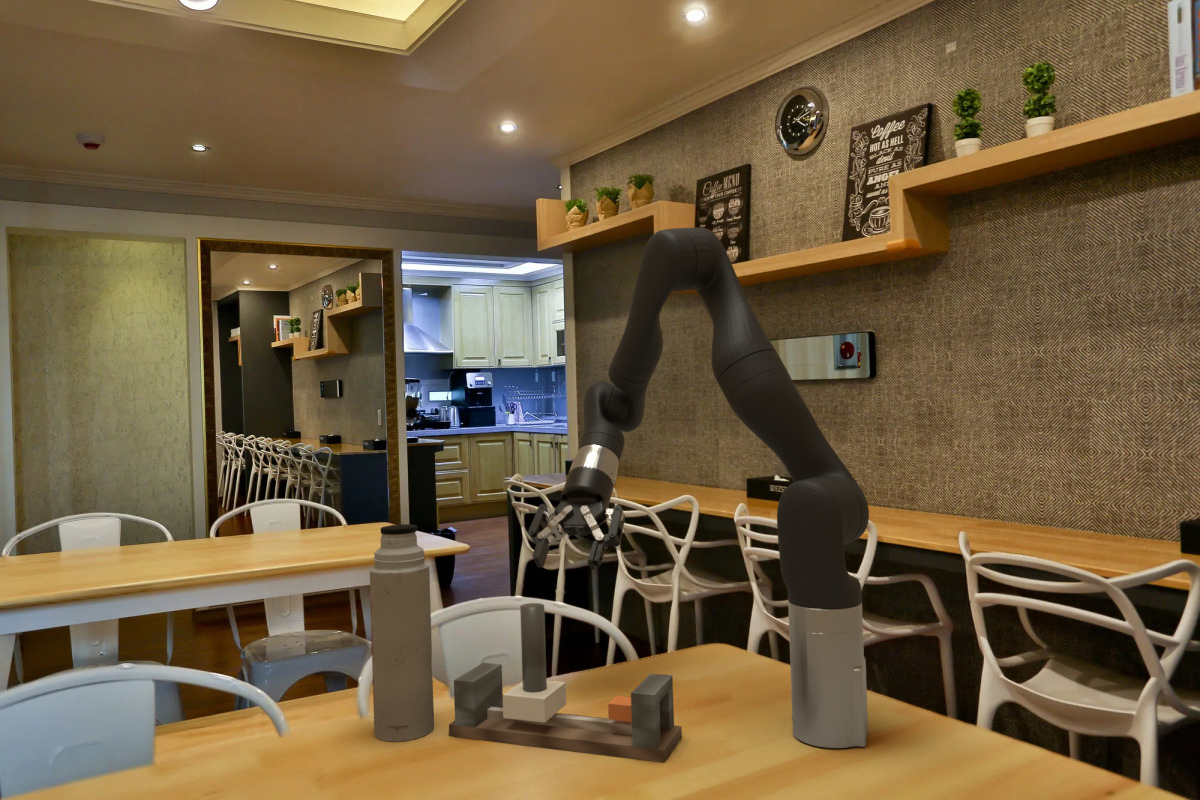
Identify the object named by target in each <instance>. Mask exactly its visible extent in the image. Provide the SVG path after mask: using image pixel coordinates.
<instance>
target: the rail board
mask: <svg viewBox="0 0 1200 800" xmlns="http://www.w3.org/2000/svg"><path fill="white" fill-rule="evenodd" d="M502 666H503V665H502V663H501V664H500V663H491V662H490V663H489V662H482V663H481V664H478V665H477V666H475V667H474V668H472V669H470V670H468V671H467V672H465V673H463V674H462V675H460V676H458V677H457V678H455V679H454V680H453V696H454V699H453V701H454V702H453V703H454V720H452V722H450V723H449V724H448V736H449V737H453V738H454V737H456V738H464V739H469V740H470V739H473V740H480V741H489V742H494V743H495V742H496V743H505V744H513V745H521V746H527V747H529V746H530V747H538V748H544V749H553V750H559V751H560V750H561V751H569V752H577V753H585V754H595V755H600V756H610V757H616V758H617V757H619V758H625V759H635V760H642V761H649V762H650V761H651V762H657V763H658V762H659V763H665V762H666V761H667V759H668V758H669V756H670V755H671V753H673V751H674V750H675V749H676V747H677V745H678V743H679V742H680V741H681V740H682V738H683V731H682V726H681V725H675V715H674V714H675V713H674V712H675V709H674V708H675V707H674V683H673V682H674V681H673V675H672V674H661V673H649V674H648V675H647V676H646V677H645V678H644V679H643V681H642V682H640V684H638V685H637V686H636V687H635V689H633V690H632V691H631V693H630V697H631V713H632V722H628V721H619V720H609V717H600V716H590V715H581V714H572V713H563V712H562V713H561V712H557V713H556V714H555V715H553V716H552V717H551V718H550V719H549V720H548V721H546V722H545V723H544V722H535V721H526V720H517V719H508V718H503V692H504V690H503V667H502Z"/></svg>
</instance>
